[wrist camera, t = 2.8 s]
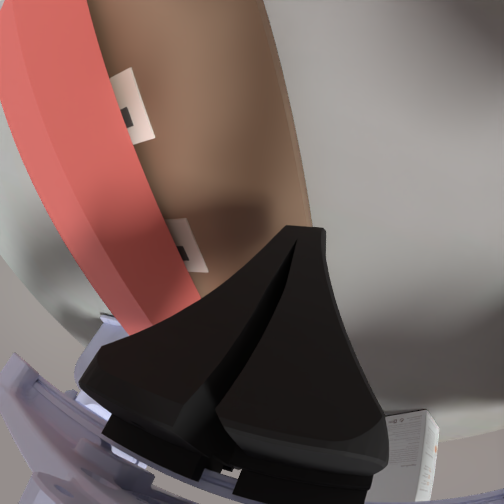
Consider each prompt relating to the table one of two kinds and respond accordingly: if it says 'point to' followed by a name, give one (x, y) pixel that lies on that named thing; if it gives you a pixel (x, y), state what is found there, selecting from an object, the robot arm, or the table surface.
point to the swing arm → (87, 161)
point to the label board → (207, 124)
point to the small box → (407, 460)
